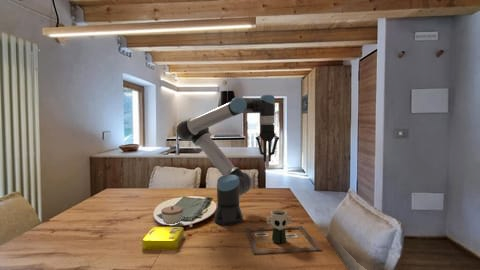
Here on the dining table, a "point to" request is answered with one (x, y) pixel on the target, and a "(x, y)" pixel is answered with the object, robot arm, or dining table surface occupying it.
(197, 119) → the robot arm
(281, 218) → the character mug
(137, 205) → the dining table surface
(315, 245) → the label frame
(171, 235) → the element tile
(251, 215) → the dining table surface
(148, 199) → the dining table surface
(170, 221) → the lidded jar
